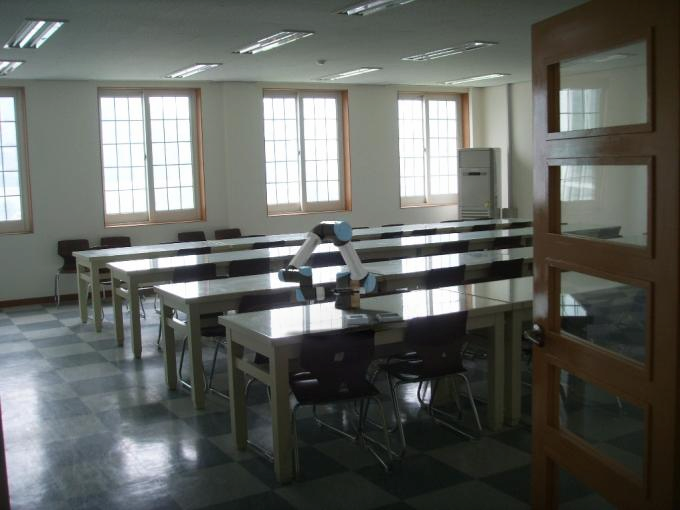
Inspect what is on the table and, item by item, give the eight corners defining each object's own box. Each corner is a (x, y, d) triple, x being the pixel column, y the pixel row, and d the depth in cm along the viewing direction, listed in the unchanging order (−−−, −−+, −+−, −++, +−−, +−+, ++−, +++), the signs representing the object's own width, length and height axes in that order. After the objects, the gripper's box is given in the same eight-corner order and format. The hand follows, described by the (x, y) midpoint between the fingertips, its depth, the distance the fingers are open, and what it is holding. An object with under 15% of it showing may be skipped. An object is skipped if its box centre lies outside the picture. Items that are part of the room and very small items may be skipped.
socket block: (345, 320, 435) (344, 315, 434) (365, 319, 436) (365, 314, 436) (347, 324, 423) (347, 319, 422) (368, 323, 424) (368, 317, 424)
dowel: (351, 306, 430) (349, 280, 429) (359, 305, 431) (358, 279, 429) (352, 307, 425) (350, 281, 424) (360, 307, 426) (359, 281, 424)
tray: (376, 318, 437) (376, 314, 437) (398, 316, 438) (398, 312, 438) (380, 322, 424) (379, 318, 424) (402, 321, 426) (402, 316, 425)
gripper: (322, 296, 435) (362, 294, 437) (325, 302, 417) (366, 299, 419) (322, 284, 434) (361, 281, 436) (324, 289, 416) (366, 286, 418)
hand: (364, 290), depth 428 cm, fingers closed on dowel, 5 cm apart
